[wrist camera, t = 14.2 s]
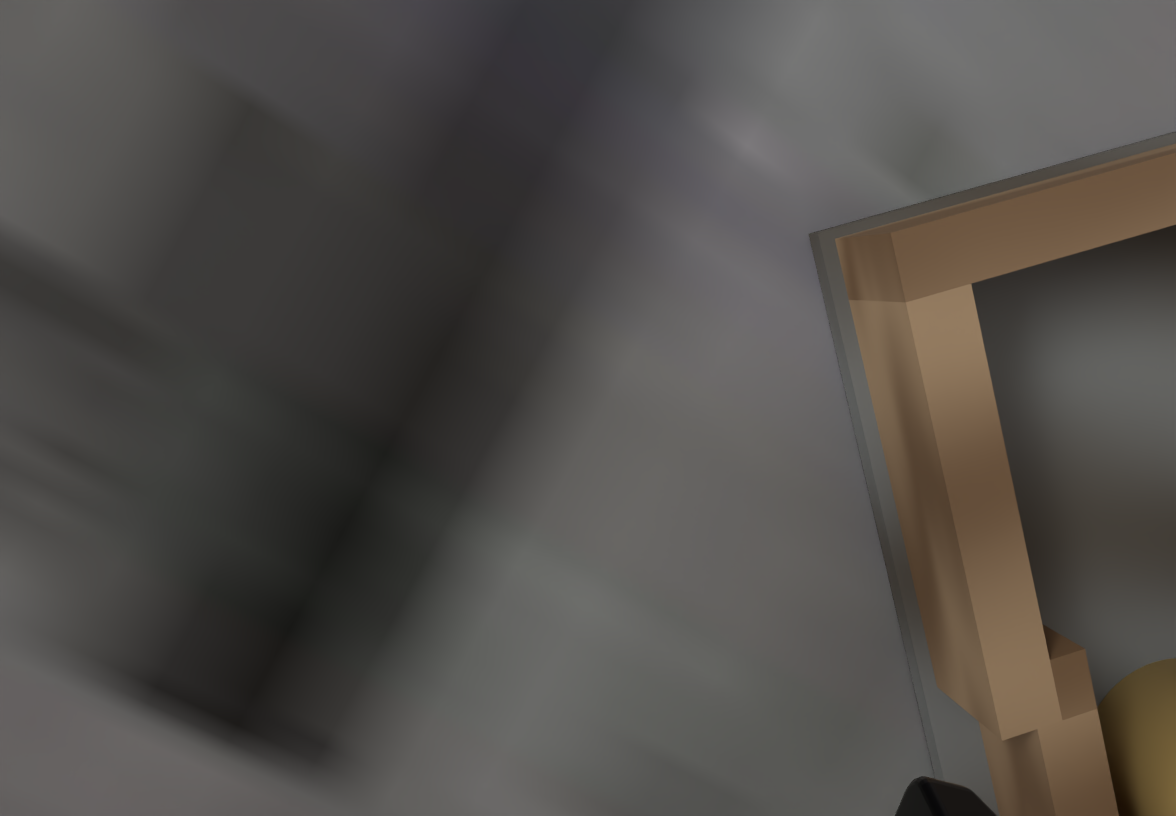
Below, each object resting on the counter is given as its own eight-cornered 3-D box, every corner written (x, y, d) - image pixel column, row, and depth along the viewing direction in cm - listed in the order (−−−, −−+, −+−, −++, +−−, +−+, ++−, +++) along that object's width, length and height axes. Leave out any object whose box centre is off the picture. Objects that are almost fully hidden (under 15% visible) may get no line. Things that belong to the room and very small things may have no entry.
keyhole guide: (1378, 816, 23) (1512, 893, 21) (977, 959, 23) (1057, 1062, 20) (1265, 106, 21) (1399, 77, 18) (808, 233, 20) (870, 226, 17)
